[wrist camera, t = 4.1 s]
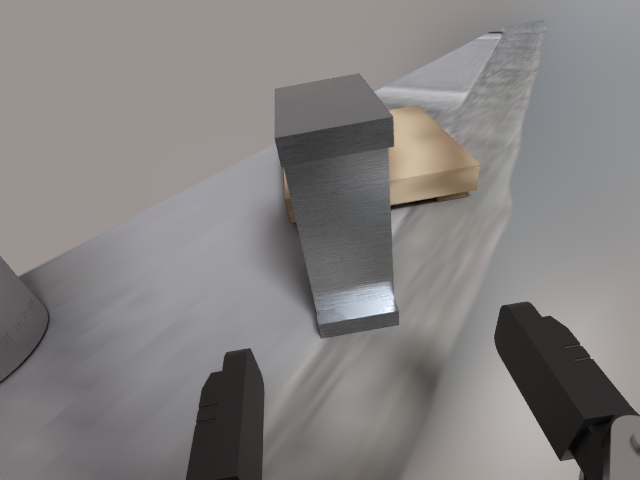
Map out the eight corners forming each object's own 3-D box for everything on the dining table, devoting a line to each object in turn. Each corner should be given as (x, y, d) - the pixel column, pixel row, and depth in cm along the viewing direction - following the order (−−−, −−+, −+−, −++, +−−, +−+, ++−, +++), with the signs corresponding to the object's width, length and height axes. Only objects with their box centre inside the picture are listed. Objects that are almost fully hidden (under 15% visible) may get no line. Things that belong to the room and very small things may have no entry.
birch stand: (292, 231, 30) (284, 199, 28) (287, 155, 42) (282, 130, 40) (475, 198, 30) (479, 164, 28) (417, 131, 42) (418, 105, 40)
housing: (321, 338, 21) (274, 138, 14) (311, 260, 26) (275, 88, 19) (398, 324, 21) (393, 116, 14) (372, 249, 26) (359, 73, 19)
